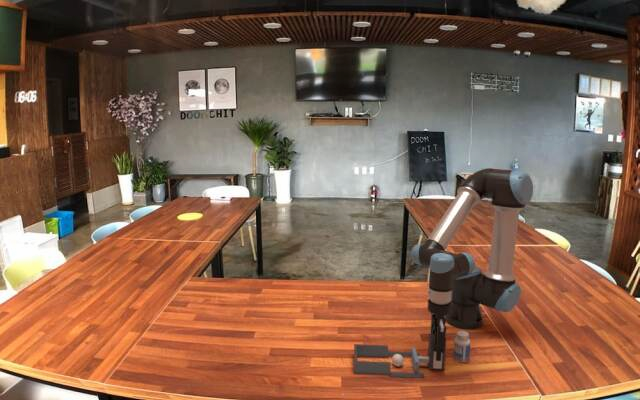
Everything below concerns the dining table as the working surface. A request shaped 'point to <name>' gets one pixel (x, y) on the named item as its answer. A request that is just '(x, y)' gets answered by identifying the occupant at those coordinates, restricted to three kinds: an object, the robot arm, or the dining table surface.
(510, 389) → the dining table surface
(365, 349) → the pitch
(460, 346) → the pill bottle
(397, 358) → the ball
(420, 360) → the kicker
